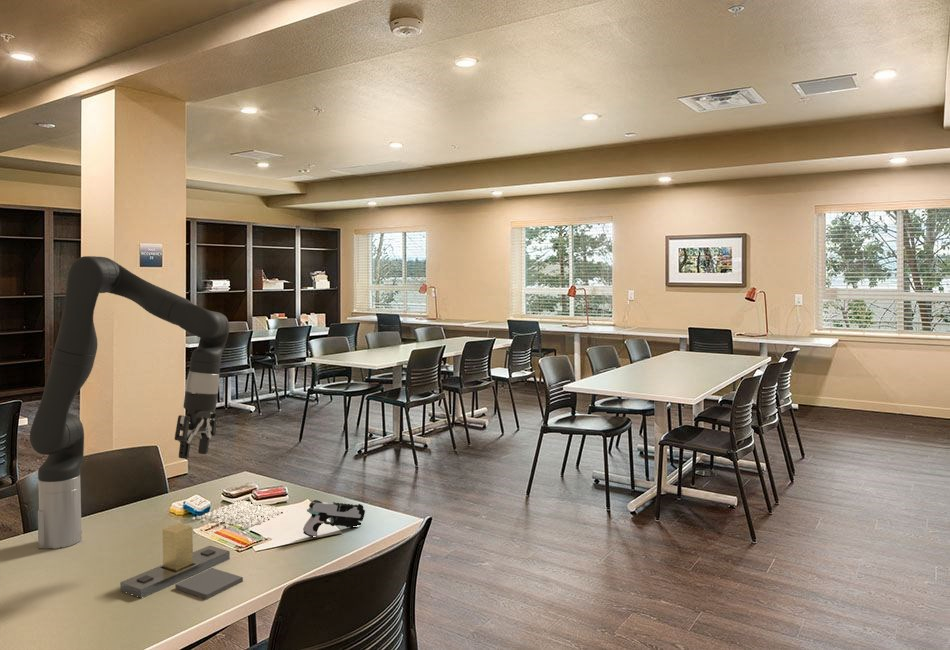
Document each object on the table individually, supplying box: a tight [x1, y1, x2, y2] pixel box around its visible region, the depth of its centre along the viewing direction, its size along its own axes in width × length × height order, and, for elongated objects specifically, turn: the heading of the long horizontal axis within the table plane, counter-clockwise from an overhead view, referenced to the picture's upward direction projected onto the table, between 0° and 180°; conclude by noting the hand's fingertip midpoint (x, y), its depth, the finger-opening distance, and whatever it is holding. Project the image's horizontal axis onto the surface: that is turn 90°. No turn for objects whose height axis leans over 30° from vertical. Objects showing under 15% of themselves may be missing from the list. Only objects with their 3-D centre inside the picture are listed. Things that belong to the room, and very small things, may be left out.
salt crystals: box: [192, 500, 283, 530], centre depth 197 cm, size 20×20×2 cm
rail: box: [119, 545, 231, 599], centre depth 158 cm, size 24×7×2 cm, turn 152°
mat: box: [174, 567, 244, 600], centre depth 152 cm, size 10×10×1 cm
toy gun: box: [302, 499, 366, 538], centre depth 185 cm, size 2×17×10 cm, turn 128°
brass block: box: [162, 523, 194, 573], centre depth 157 cm, size 4×4×11 cm
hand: (193, 456), depth 168 cm, fingers open, 8 cm apart
